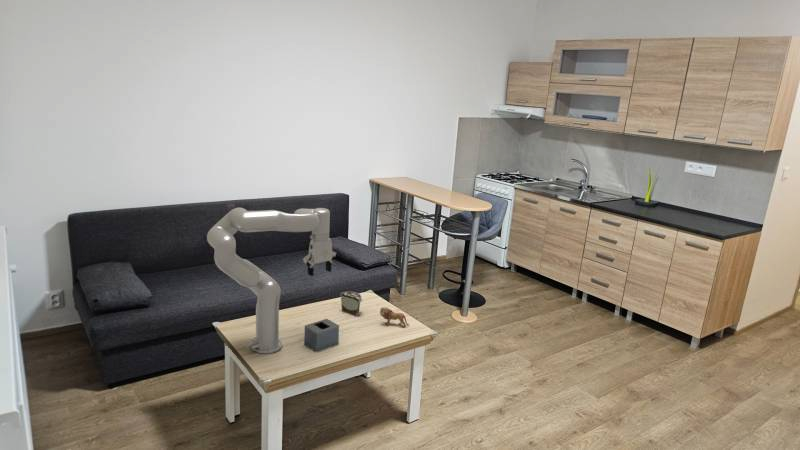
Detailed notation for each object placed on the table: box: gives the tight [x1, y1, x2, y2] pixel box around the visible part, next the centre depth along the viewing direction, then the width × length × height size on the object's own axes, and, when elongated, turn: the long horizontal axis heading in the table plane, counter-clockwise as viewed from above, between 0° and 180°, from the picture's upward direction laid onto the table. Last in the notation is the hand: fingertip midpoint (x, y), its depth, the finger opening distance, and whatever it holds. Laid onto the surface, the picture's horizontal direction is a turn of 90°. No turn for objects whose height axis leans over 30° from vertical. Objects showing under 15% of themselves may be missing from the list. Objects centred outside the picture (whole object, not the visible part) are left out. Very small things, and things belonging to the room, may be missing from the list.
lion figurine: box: [379, 306, 410, 329], centre depth 256 cm, size 15×5×9 cm, turn 89°
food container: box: [339, 291, 363, 318], centre depth 268 cm, size 12×6×10 cm, turn 58°
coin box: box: [303, 318, 340, 353], centre depth 233 cm, size 12×9×9 cm
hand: (319, 273), depth 235 cm, fingers open, 9 cm apart
